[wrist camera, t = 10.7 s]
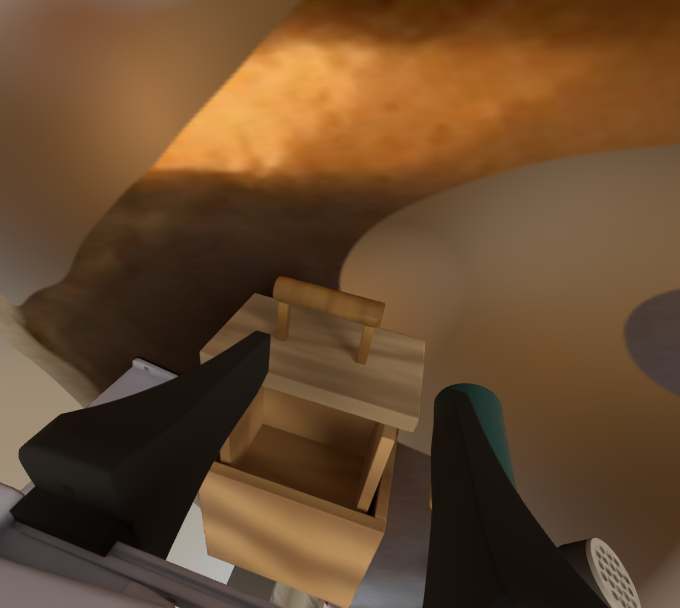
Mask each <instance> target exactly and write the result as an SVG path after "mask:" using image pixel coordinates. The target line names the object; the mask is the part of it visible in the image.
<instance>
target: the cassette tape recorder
mask: <svg viewBox="0 0 680 608" xmlns="http://www.w3.org/2000/svg"><path fill="white" fill-rule="evenodd" d="M227 585H228V586H230V587H233V588H235V589H238V590H240V591H243V592H245V593H248V594H250V595H253V596H255V597H258V598H260V599H263V600H265V601H268V602H270V603H273V604H275V605H277V606H280V607H282V608H323V607H324V603H326V605H328V601H325V600H323V599H320V598H317V597H315V596H312V595H310V594H307V593H305V592H302V591H299V590H297V589H294V588H292V587H289V586H287V585H284V584H281V583H279V582H276V581H274V580H271V579H269V578H266V577H263V576H261V575H258V574H256V573H253V572H251V571H248V570H246V569H243V568H240V567H238V566H235V567H234V569H233V571H232V574H231V576H230V578H229V580H228V583H227Z"/></svg>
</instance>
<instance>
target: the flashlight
mask: <svg viewBox="0 0 680 608" xmlns="http://www.w3.org/2000/svg"><path fill="white" fill-rule="evenodd" d="M558 550H559V551H560V552H561V553H562V555H563V556H564V557H565V558H566V559H567V561H568V562H569V563H570V564H571V565H572V567H573V568H574V569H575V570H576V572H577V573H578V574H579V575H580V576H581V577H582V578H583V580H584V581H585V582H586V583H587V584H588V585H589V586H590V587H591V588H592V589H593V591H594V592H595V593H596V594H597V595H598V596H599V597H600V598H601V599H602V601H603V602H604V603H605V604H606V605H607V606H608V607H609V608H641V606H640V601H639V598H638V595H637V592H636V590H635V587H634V585H633V583H632V581H631V579H630V577H629V575H628V573H627V572H626V570H625V568H624V567H623V565H622V563H621V561H620V560H619V559H618V557H617V556H616V555H615V553H614V552H613V551H612V550H611V548H610V547H609V546H608V545H606V543H604V542H603V541H602V540H600V539H598V538H591V539H587V540H582V541H578V542H573V543H569V544H564V545H562V546H560V547H558Z"/></svg>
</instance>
